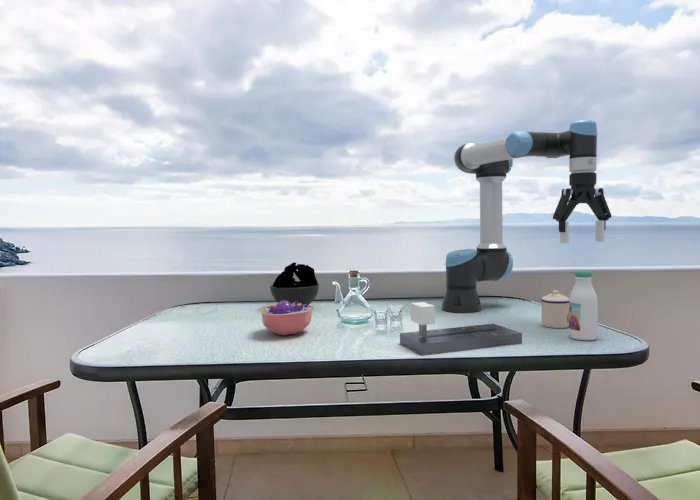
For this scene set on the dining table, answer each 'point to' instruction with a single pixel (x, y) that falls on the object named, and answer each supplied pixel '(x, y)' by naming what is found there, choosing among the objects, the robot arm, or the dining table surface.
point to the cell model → (286, 317)
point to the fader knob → (423, 316)
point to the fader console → (460, 338)
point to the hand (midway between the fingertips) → (582, 242)
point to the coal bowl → (295, 285)
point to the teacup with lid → (555, 310)
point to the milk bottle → (583, 308)
